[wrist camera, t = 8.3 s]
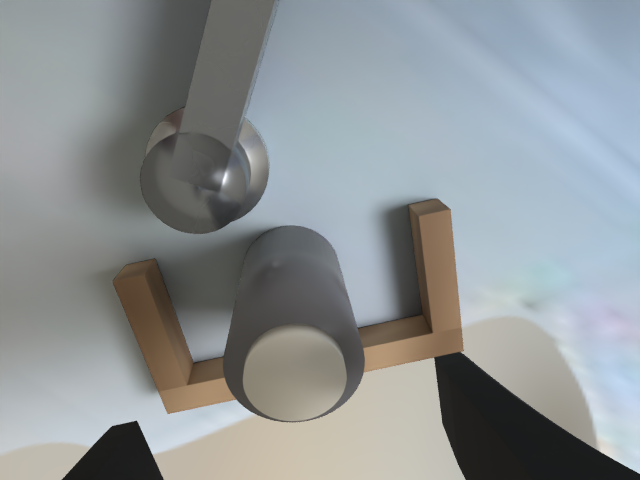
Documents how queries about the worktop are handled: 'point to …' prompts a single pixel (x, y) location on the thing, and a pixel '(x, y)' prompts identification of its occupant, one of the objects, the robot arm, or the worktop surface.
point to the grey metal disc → (249, 142)
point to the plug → (292, 329)
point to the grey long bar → (211, 124)
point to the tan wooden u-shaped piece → (377, 340)
